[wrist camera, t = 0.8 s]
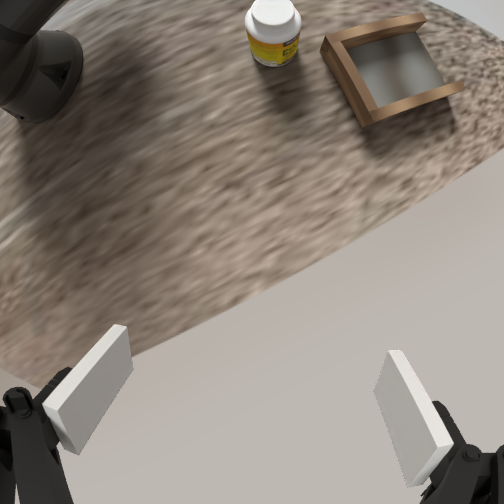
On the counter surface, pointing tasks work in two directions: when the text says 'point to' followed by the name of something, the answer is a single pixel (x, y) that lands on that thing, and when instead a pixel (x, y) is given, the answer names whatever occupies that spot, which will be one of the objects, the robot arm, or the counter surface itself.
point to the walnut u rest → (385, 68)
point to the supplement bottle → (273, 31)
